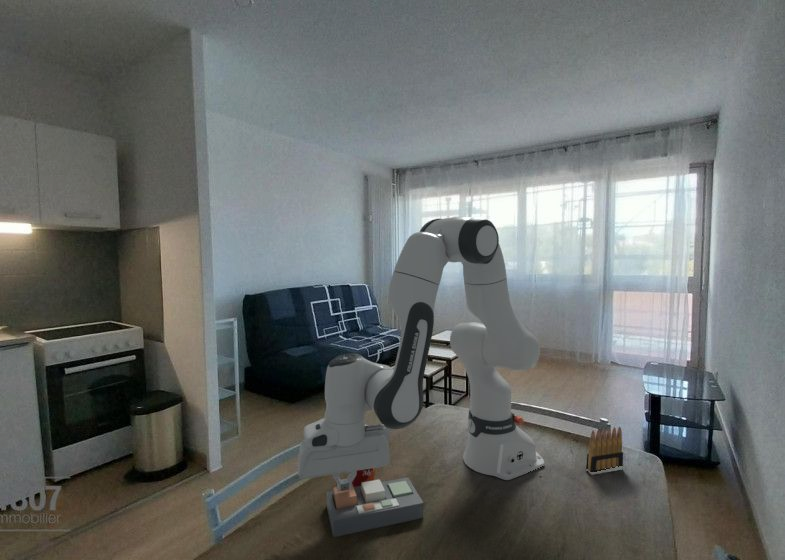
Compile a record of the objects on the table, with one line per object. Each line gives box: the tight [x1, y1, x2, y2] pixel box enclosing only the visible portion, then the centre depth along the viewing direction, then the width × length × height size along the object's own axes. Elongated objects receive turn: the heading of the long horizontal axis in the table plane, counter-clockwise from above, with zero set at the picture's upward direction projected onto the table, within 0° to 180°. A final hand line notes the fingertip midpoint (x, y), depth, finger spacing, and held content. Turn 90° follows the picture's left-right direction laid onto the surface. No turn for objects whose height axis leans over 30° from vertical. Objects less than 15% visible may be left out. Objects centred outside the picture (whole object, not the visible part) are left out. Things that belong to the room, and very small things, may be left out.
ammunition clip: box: [585, 426, 624, 472], centre depth 103 cm, size 11×2×12 cm, turn 105°
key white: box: [361, 479, 385, 503], centre depth 87 cm, size 4×4×2 cm
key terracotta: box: [332, 484, 357, 509], centre depth 85 cm, size 4×4×2 cm
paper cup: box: [352, 424, 376, 487], centre depth 96 cm, size 8×8×14 cm
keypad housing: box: [326, 477, 425, 538], centre depth 86 cm, size 20×10×4 cm, turn 108°
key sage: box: [388, 481, 412, 498], centre depth 89 cm, size 4×4×2 cm
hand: (344, 489), depth 84 cm, fingers closed
